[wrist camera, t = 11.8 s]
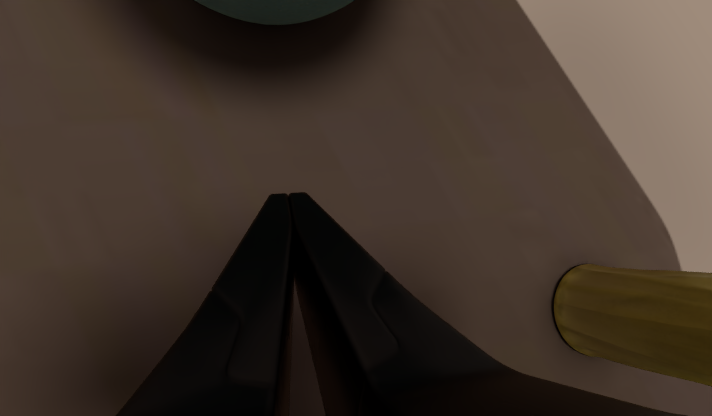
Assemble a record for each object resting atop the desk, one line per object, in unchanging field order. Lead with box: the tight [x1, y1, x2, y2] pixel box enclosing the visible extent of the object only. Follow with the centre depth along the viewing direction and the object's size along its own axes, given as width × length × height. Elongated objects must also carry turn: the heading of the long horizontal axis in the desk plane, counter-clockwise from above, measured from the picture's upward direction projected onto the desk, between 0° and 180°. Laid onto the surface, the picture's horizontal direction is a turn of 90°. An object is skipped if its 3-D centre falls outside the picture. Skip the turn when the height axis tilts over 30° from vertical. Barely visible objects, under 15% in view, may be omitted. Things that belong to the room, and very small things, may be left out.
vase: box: [554, 264, 712, 386], centre depth 18 cm, size 6×6×14 cm
